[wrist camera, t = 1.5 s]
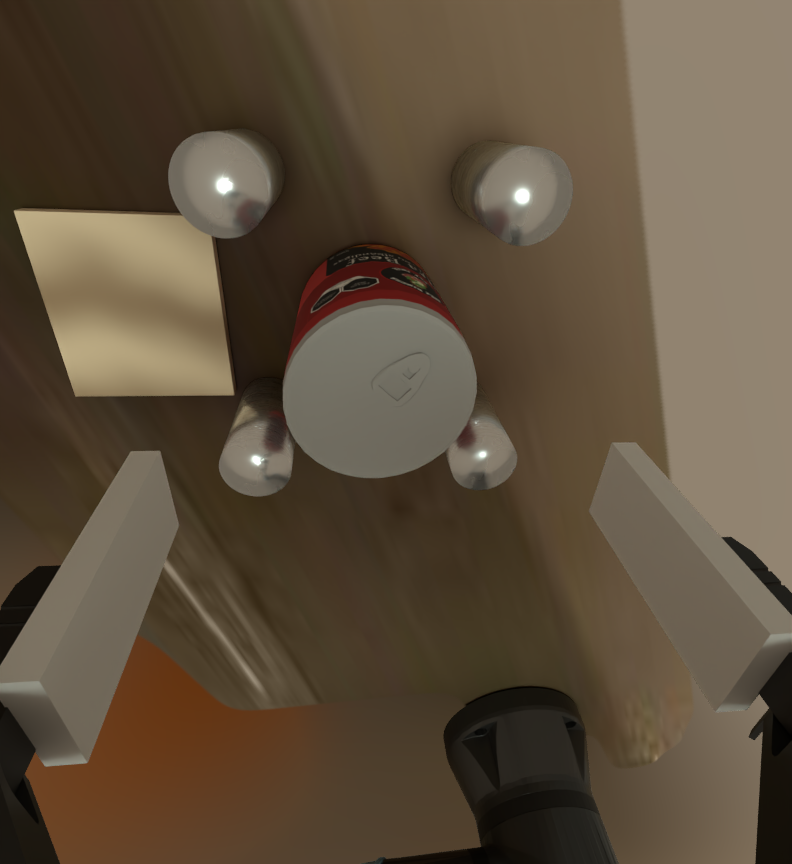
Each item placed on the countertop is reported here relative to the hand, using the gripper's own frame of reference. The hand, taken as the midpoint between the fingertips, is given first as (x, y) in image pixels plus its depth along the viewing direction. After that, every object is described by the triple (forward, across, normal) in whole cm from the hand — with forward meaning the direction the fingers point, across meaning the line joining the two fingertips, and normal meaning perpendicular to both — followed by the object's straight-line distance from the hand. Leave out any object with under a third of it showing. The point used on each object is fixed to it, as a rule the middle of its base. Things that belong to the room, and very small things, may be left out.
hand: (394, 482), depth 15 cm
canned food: (+17, 0, 0) cm, 17 cm away
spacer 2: (+16, +6, +6) cm, 19 cm away
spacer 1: (+16, +6, -7) cm, 19 cm away
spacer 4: (+16, -6, +6) cm, 19 cm away
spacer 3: (+16, -6, -7) cm, 19 cm away
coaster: (+16, +12, 0) cm, 21 cm away
